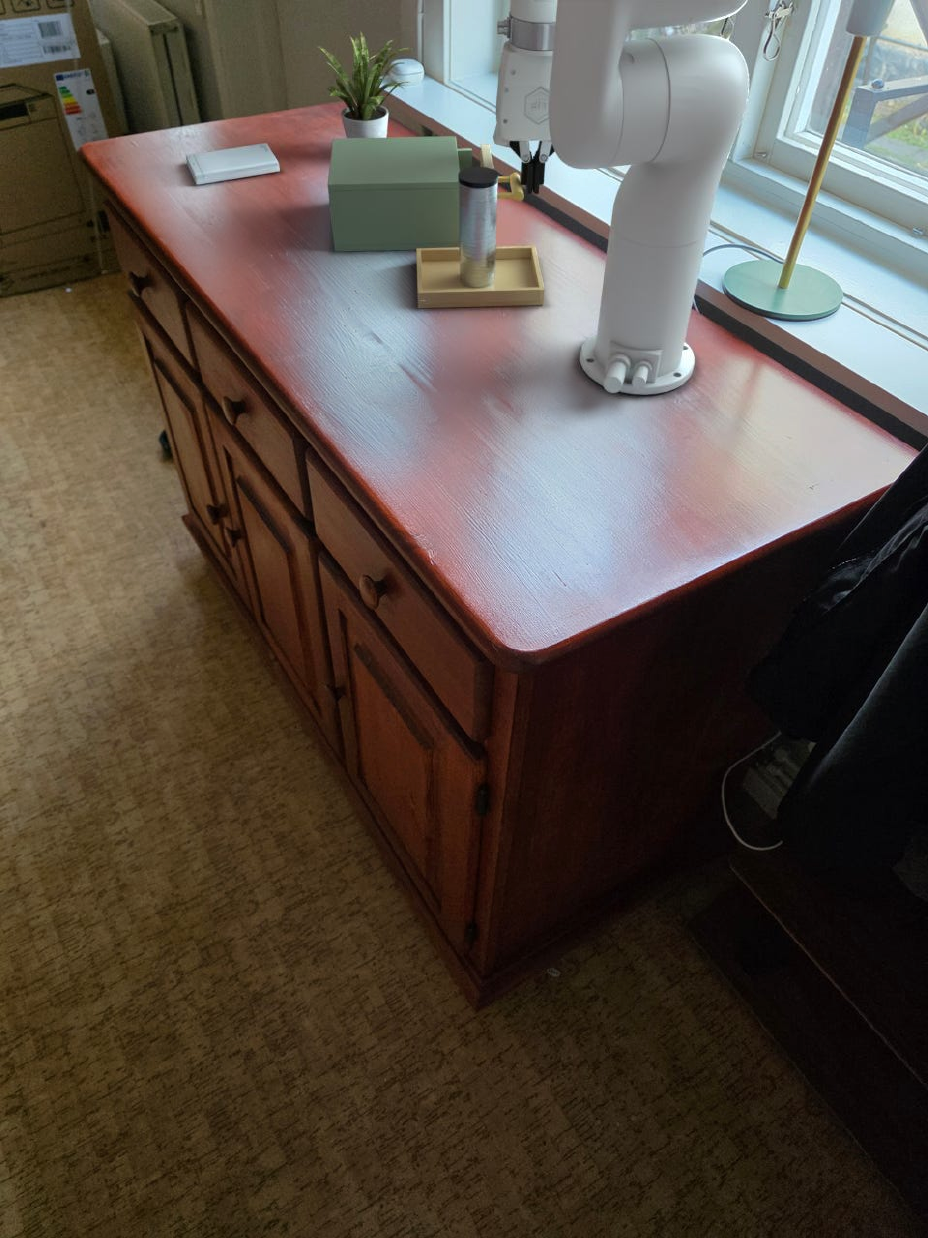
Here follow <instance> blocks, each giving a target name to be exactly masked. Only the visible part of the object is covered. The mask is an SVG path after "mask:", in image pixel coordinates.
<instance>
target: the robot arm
mask: <svg viewBox="0 0 928 1238" xmlns="http://www.w3.org/2000/svg"><path fill="white" fill-rule="evenodd" d="M509 2H510V3H509V12H508V16H506V19H503V20H497V24H496V29H497V30H496V34H497V35H503V36H504V37H506V39H508V40H506V41H505V42H504V43H503V47H502V50H501V56H500V62H499V68H498V77H497V86H496V97H495V99H496V100H495V121H496V124H495V127H494V132H493V135H492V140H493V143H494V145H496V146H499V147H504V148H510V149H511V150H512V151H513V153H514V154H515V155H516V156H517V157H518V158H519V159H520V160H521V166H520V181H521V185H522V186H524V187H525V192H526V195H531V194H534V195H539V194H540V186H543V185H544V184H545V176H546V175H545V174H546V173H545V172H546V163H547V162H548V161H549V159H550V157H551V156H552V155H553V154H554V153H555V155H556V156H557V158H558V159H559V160H560V162H562V163H563V164H565V166H567V167H570V168H572V169H577V170H598V169H608V168H617V167H623V166H629V168H628V170H627V171H626V173H625V174H624V177H623V178H622V180H621V182H620V183H619V187H618V189H617V191H616V194H615V197H614V201H613V204H612V210H611V216H610V217H611V219H610V226H609V234H608V243H607V251H606V259H605V265H604V266H605V267H604V274H603V283H602V289H601V296H600V297H601V298H600V305H599V313H598V323H597V330H596V331H594V332H593V333H592V334H590V335H589V336H588V337H587V338H586V339H585V340H584V342H582V345H581V347H580V352H579V353H580V354H579V363H580V366H581V368H582V370H583V371H584V372H585V374H586V375H587V376H588V377H589V378H590V379H591V380H593V381H594V382H596V383H598V384H599V385H601V386H602V387H604V389H605V390H606V391H607V392H608V393H612V394H615V393H618V392H620V393H623V394H624V393H625V394H630V395H645V396H646V395H657V394H663V393H667V392H669V391H672V390H675V389H677V388H679V387H681V386H683V385H684V384H686V382H687V381H689V380H690V378H691V377H692V375H693V372H694V369H695V365H696V357H695V353H694V351H693V349H692V348H691V346H690V345H689V344H688V343H687V342H686V338H687V332H688V329H689V324H690V318H691V314H692V309H693V304H694V301H695V295H696V289H697V285H698V281H699V274H700V270H701V266H702V261H703V256H704V251H705V247H706V241H707V237H708V233H709V228H710V223H711V220H712V214H713V210H714V205H715V202H716V197H717V193H718V189H719V185H720V182H721V179H722V175H723V171H724V168H725V165H726V163H727V161H728V157H729V154H730V152H731V149H732V148H733V145H734V142H735V140H736V137H737V135H738V132H739V130H740V128H741V125H742V122H743V119H744V117H745V113H746V108H747V105H748V101H749V93H750V73H749V68H748V64H747V62H746V59H745V57H744V55H743V53H742V52H741V50H740V49H739V48H738V47H737V46H736V45H735V44H734V43H732V42H731V41H730V40H729V39H726V38H723V37H721V36H719V35H713V34H708V33H707V34H706V33H686V34H685V33H684V34H674V35H673V34H672V35H664V36H653V37H645V38H642V39H632V40H631V39H630V40H627V38H628V36H629V34H631V32H633V31H637V30H638V31H639V30H649V29H658V28H669V27H679V26H680V27H681V26H689V25H698V24H703V23H712V22H716V21H720V20H724V19H726V18H728V17H731V16H733V15H734V14H736V13H738V12H739V11H741V9H742V8H743V7H744V6H745V5H746V4H747V2H748V0H510V1H509ZM530 142H538V143H537V150H536V151H535V152H534V155H533V154H532V151H531V150H530Z"/></svg>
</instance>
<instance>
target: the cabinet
mask: <svg viewBox="0 0 928 1238" xmlns="http://www.w3.org/2000/svg"><path fill="white" fill-rule="evenodd" d="M331 144H332V145H331V146H332V147H331V153H330V161H329V169H328V176H327V194H328V202H329V203H328V204H329V209H330V210H329V211H330V218H331V219H330V220H331V229H332V239H333V245H334V252H336V253H337V252H339V253H340V252H376V251H377V252H379V251H416V248H455V247H460V246H459V181H458V174H459V172H460V169H459V160H458V150H457V148H458V143H457V136H456V135H450V136H449V135H446V136H445V135H443V136H441V135H440V136H396V137H395V136H394V137H393V136H391V137H388V136H386V138H347V137H343V138H341V137H340V138H338V137H337V138H336V137H335V138H333V139H332V143H331Z"/></svg>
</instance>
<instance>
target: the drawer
mask: <svg viewBox="0 0 928 1238" xmlns="http://www.w3.org/2000/svg"><path fill="white" fill-rule="evenodd" d="M457 150H458V160H459V169H460V171H462V170H463V169H466V168H469V167H473V161H472V160H473V155H472V154H473V149H472V147H463V148H461V147H459V148H458V147H457ZM493 162H494V161H493V155H492V151H491V145H490V143H482V144H480V167H487V168H491V169H493V170H495V167H494V163H493ZM498 183H509V184H510V188H511V192H510V191H509V192H507V191H505V192H504V191H503V192H497V200H502V199H503V200H504V199H505V200H506V199H510V200H511V199H513V201H514V202H516V203H520V202H522V201H523V200H524V197H525V195H524V190H523V185H521V175H520V174H519V173H518V172H512V173H511V174H510V175H507V176H506V175H505V176H503V175H502V176H500V175H499V180H498Z"/></svg>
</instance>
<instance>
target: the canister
mask: <svg viewBox="0 0 928 1238" xmlns="http://www.w3.org/2000/svg"><path fill="white" fill-rule="evenodd" d="M499 176H500V175H499V172H497V170H495V169H494V170H493V169H491V168H487V167H481V166H472V167H469V168H466V169H463V170H462V171H460V172H459V174H458V181H459V246H460V282H461V283H462V284H463V285H465V286H468V287H472V288H483V287H487V286H490V285H491V284H493V282H494V281H495V257H496V247H497V217H498V213H497V212H498V199H497V193H498V180H499Z"/></svg>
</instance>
